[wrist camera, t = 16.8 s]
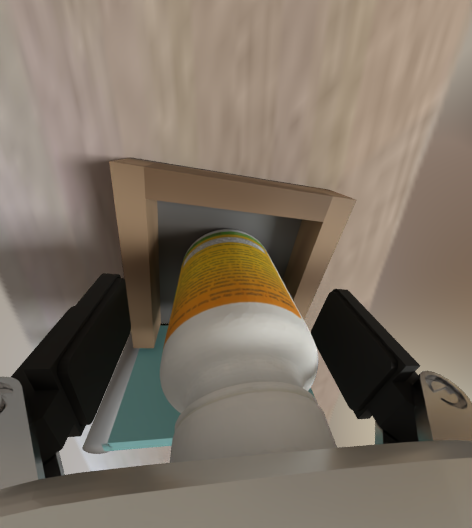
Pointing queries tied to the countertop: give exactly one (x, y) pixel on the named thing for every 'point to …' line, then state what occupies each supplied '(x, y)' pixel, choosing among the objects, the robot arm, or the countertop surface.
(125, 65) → the countertop surface
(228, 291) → the supplement bottle
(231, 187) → the bay
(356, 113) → the countertop surface
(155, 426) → the gate
